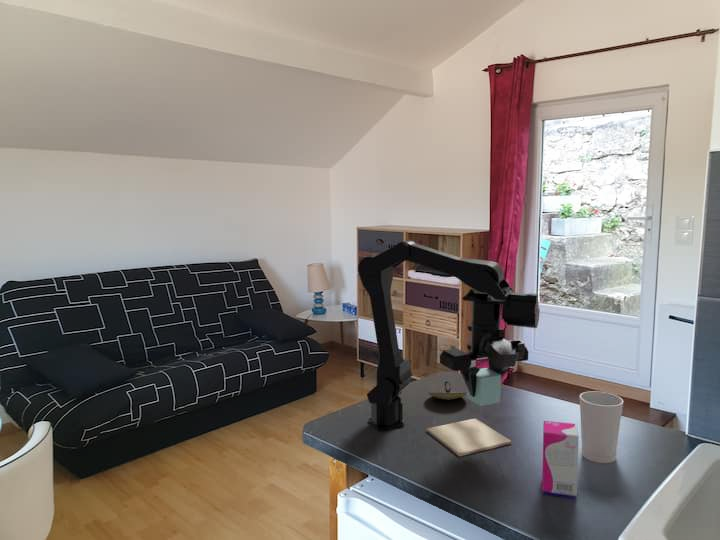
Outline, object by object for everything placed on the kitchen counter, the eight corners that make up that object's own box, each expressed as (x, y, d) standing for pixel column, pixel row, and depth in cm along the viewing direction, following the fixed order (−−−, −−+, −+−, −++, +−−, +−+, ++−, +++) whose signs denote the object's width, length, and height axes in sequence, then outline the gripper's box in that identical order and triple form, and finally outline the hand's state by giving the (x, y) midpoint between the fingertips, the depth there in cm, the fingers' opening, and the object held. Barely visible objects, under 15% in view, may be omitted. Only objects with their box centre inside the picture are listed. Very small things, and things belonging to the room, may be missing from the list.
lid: (431, 409, 133) (431, 389, 132) (424, 394, 142) (424, 376, 142) (473, 407, 133) (473, 388, 132) (464, 393, 143) (464, 375, 142)
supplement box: (575, 482, 98) (577, 422, 96) (577, 499, 92) (579, 437, 91) (541, 477, 100) (543, 419, 98) (541, 494, 94) (543, 432, 92)
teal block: (480, 406, 110) (481, 378, 109) (466, 397, 114) (467, 370, 114) (500, 402, 112) (501, 375, 111) (485, 394, 116) (486, 367, 116)
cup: (602, 469, 102) (604, 409, 101) (568, 451, 109) (570, 395, 108) (629, 459, 106) (632, 401, 104) (595, 443, 113) (597, 388, 111)
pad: (459, 456, 108) (459, 453, 108) (426, 431, 120) (426, 428, 120) (511, 443, 113) (511, 441, 113) (475, 420, 125) (475, 418, 125)
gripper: (470, 337, 100) (467, 416, 102) (548, 327, 107) (544, 401, 109) (439, 323, 110) (437, 395, 112) (512, 315, 117) (509, 383, 119)
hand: (483, 394), depth 113 cm, fingers closed on teal block, 5 cm apart
